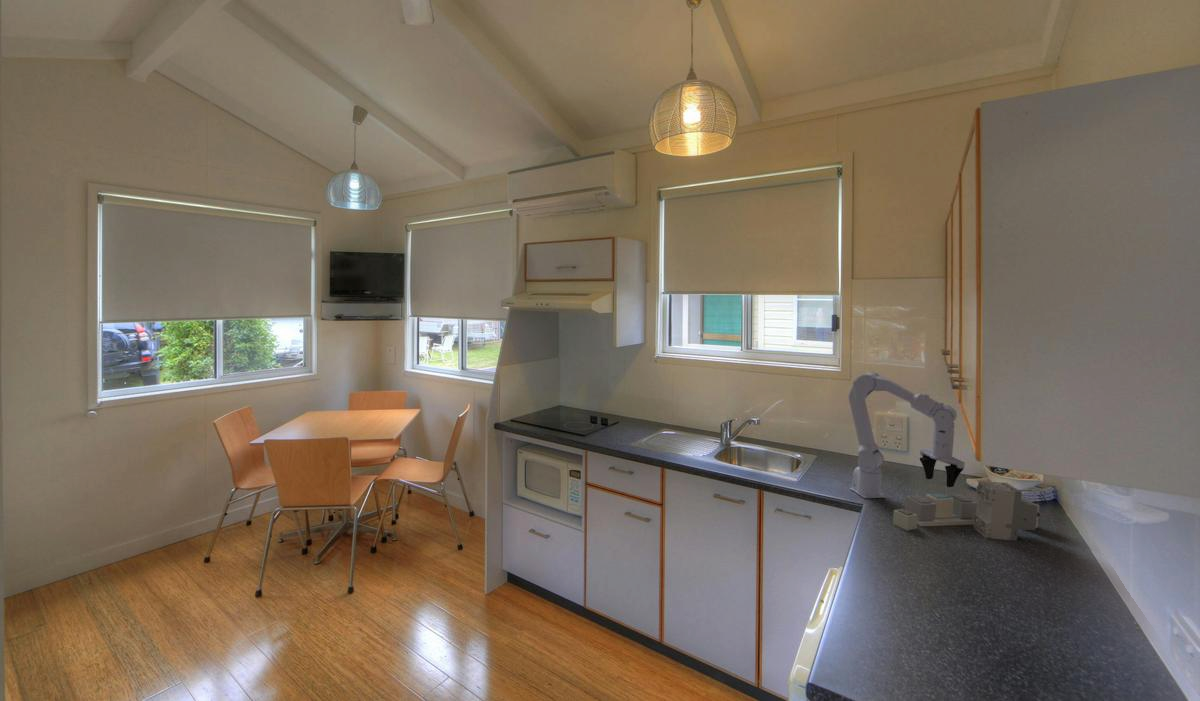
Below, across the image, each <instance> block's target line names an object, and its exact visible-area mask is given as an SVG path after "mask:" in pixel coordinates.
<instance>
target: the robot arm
mask: <svg viewBox="0 0 1200 701" xmlns="http://www.w3.org/2000/svg"><path fill="white" fill-rule="evenodd" d="M874 391H875V392H887V393H889V394H892V395H894V396H896V397H898V398H900V399H902V400H903V401H906V402H908V403H909V404H910V407H911V408H912V409H913V410H916V411H917V412H919V413H921V414H923V415H924V416H926V417H928V418H931V419H932V420H933V422H934V427H933V432H932V444H931V450H928V449H925V448H924V449H923V448H922V449H920V451H919V456H921V457H919V461H920V463H921V465H922V467H923V471H924V474H925V478H926V480H932V479H933V478H934V473H935V466H936V463H937V461H938V462H941V463H944V464H948V465H945V466H944V468H945V471H946V487H948V488H953V487H954V486H955V484H956V481H957V479H958V477H959V476H960V475H961V473H962V471H963V470H964V468H965V467H966V466H965V464H966V462H965V461H963V460H960V459H958V458H956V457H954V456H953V449H954V441H955V440H954V439H955V438H954V437H955V421H956V419H957V416H958V413H957V410H956V409H955V408H953V407H952V406H951V405H947V404H945V403H944V402H939V401H937V400H935V399H934V398H931V397H930V395H929V394H927V393H924V394H923V393H922V392H921V393H920V392H919V393H914V392H912V391H910V390H909V389H907V388H905V387H903V386H901V385H899V384H898V383H896V382H894V381H892V380H891V379H889V378H888V377H885V376H884V375H882V374H881V375H880V374H878V373H877V372H875V371H870V372H867V373H864V374H860V375H859V376H857V377H856V378H855V379H854V381H853V382H852V387H851V389H850V392H849V394H848V401H849V407H850V410H851V415H852V419H853V423H854V427H855V431H856V437H857V441H858V445H859V446H858V450H857V454H858V459H857V464H858V465H857V466H856V467H855V469H854V470H853V472H852V487H849V489H850V490H851V491H852V492H854V493H856V494H857V495H859V496H860V497H862V498H864V499H886V495H884V494H882V493H881V486H882V484H881V483H882V469H881V466H882V465H883V463H884V461H885V458H884V455H883V454H882V452H881V451H880V449H879V446H878V445H877V443H876V442H875V441H876V440H875V437H874V432H873V429H872V424H871V420H870V416H869V411H868V407H867V403H866V399H867V398H868V397H869V396H870V395H871V393H872V392H874ZM944 404H945V405H944Z"/></svg>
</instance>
